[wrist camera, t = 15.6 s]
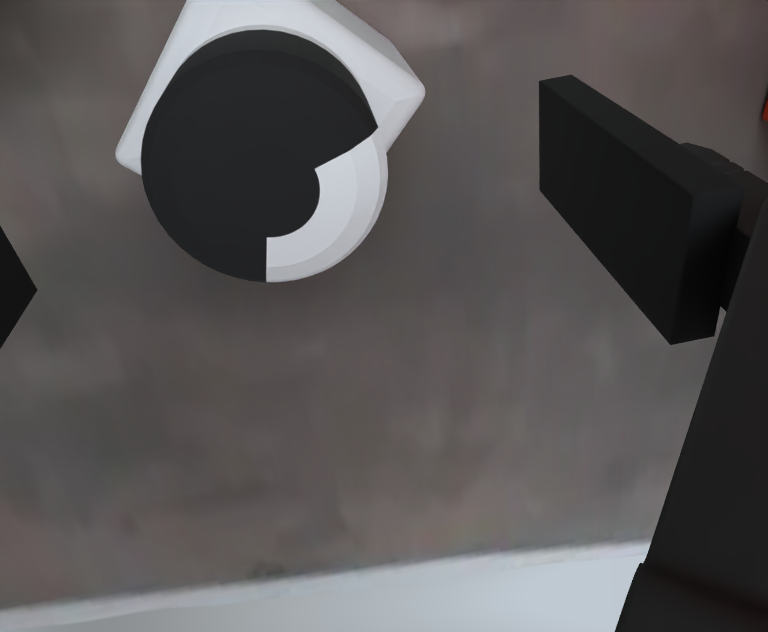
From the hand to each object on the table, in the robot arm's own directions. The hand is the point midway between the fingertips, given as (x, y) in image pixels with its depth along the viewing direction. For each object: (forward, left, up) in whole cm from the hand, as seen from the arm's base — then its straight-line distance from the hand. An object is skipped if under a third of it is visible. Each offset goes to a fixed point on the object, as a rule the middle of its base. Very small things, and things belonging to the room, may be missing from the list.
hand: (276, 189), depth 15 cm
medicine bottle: (0, 0, -12) cm, 12 cm away
